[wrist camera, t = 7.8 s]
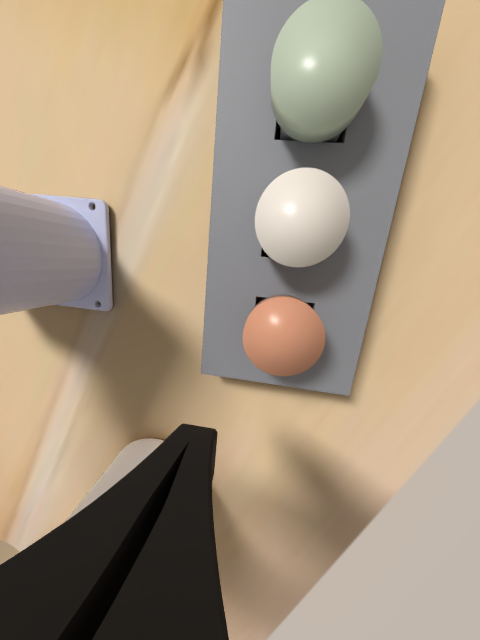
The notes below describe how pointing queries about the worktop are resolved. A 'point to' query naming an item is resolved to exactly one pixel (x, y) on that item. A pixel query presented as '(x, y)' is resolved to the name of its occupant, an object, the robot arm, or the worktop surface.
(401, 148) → the button panel
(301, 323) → the terracotta button
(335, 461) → the worktop surface
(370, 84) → the sage button
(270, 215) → the cream button
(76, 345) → the worktop surface
